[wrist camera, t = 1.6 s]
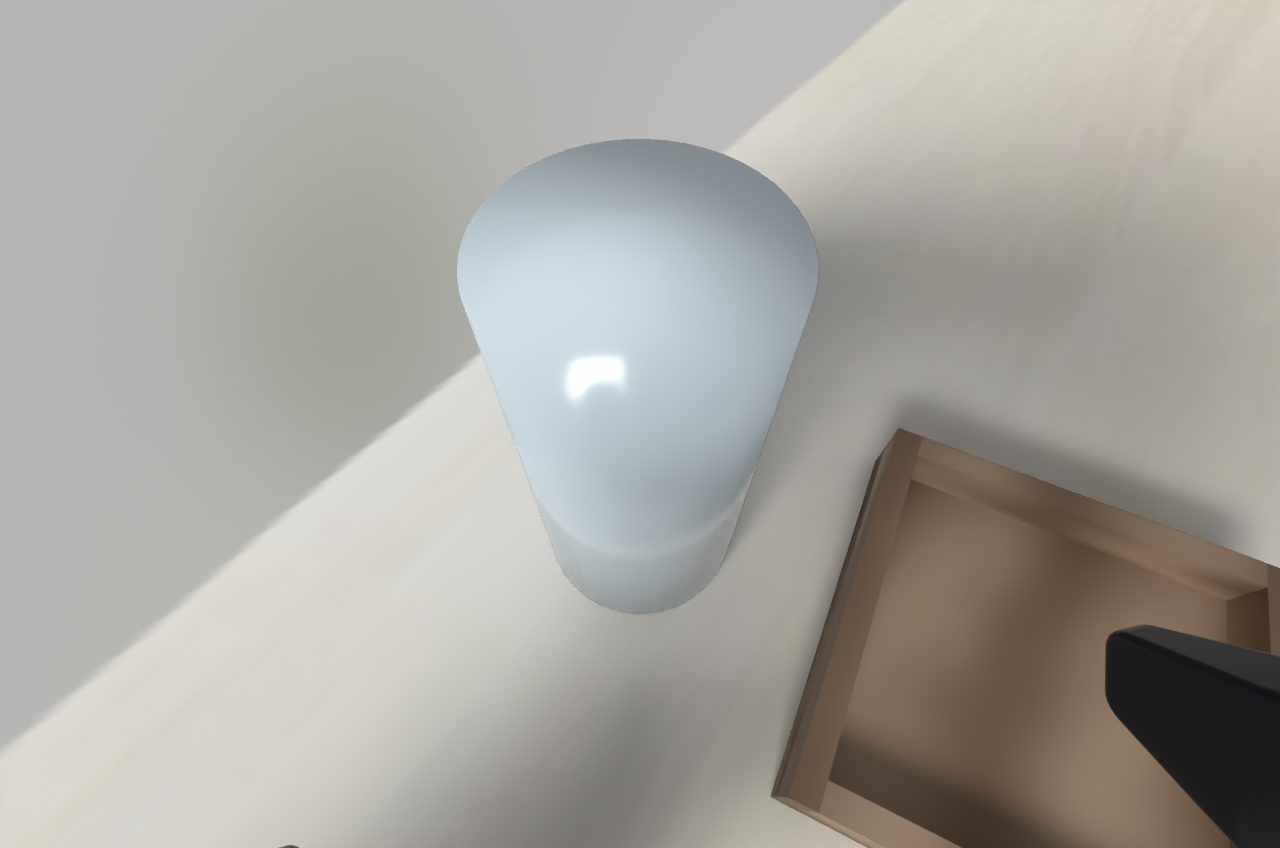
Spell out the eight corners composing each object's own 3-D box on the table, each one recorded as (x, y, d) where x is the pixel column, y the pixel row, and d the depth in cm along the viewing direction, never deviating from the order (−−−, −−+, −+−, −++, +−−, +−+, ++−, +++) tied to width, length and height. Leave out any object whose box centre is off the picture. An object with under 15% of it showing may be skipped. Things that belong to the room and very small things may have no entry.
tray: (1229, 597, 21) (1296, 574, 19) (1234, 1038, 15) (1331, 1079, 13) (875, 461, 23) (898, 428, 21) (771, 796, 18) (788, 797, 16)
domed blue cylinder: (755, 484, 23) (860, 193, 12) (687, 647, 20) (743, 463, 9) (601, 421, 24) (566, 108, 13) (516, 564, 22) (382, 318, 10)
